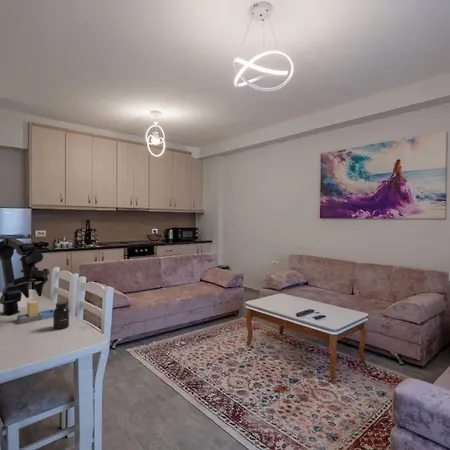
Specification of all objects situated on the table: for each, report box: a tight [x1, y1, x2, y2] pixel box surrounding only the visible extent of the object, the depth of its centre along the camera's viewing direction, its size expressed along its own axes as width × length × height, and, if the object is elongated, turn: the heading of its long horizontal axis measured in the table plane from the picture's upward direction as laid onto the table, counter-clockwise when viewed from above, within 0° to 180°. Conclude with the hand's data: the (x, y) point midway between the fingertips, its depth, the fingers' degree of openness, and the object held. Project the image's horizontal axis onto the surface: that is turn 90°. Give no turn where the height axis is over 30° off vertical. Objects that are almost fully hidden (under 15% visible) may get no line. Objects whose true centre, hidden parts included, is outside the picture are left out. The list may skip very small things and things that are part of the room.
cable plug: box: [26, 300, 39, 317], centre depth 163 cm, size 4×4×9 cm
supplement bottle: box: [52, 301, 70, 330], centre depth 152 cm, size 7×7×12 cm
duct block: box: [16, 307, 56, 325], centre depth 166 cm, size 19×8×2 cm, turn 135°
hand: (34, 297), depth 158 cm, fingers open, 9 cm apart
